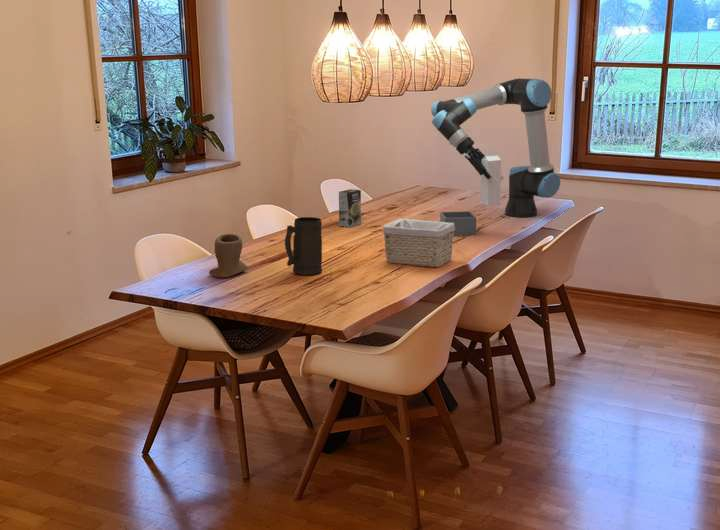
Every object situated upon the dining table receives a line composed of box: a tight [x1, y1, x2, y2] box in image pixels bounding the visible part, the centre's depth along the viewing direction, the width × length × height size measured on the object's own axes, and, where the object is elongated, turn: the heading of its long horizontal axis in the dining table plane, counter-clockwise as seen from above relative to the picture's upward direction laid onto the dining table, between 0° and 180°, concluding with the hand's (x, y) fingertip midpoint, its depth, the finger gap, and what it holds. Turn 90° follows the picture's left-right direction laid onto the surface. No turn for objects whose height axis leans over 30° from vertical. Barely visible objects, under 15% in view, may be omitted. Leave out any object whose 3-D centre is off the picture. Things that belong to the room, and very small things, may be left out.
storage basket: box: [382, 217, 455, 268], centre depth 325 cm, size 24×16×15 cm
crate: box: [439, 210, 477, 237], centre depth 372 cm, size 14×14×8 cm
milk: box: [480, 151, 502, 207], centre depth 355 cm, size 6×6×22 cm
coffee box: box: [338, 188, 362, 228], centre depth 390 cm, size 9×6×16 cm
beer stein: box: [284, 216, 323, 276], centre depth 310 cm, size 15×11×20 cm
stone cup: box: [208, 233, 249, 278], centre depth 312 cm, size 15×12×15 cm
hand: (498, 181), depth 354 cm, fingers closed on milk, 8 cm apart
